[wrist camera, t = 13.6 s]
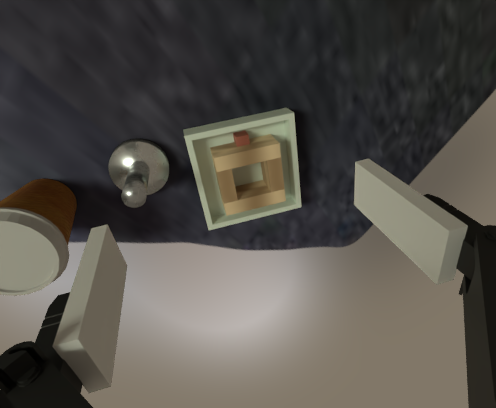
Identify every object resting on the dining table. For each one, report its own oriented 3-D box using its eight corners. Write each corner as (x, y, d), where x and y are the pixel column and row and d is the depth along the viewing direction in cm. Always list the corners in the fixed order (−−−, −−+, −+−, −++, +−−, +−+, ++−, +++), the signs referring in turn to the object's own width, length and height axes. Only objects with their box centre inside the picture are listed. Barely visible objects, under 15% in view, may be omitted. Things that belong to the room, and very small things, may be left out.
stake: (101, 145, 38) (84, 174, 30) (160, 133, 39) (158, 157, 31) (122, 196, 42) (111, 233, 34) (175, 183, 42) (176, 217, 35)
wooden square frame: (222, 201, 45) (226, 215, 41) (207, 138, 40) (211, 148, 37) (276, 188, 45) (285, 201, 42) (269, 125, 41) (278, 133, 37)
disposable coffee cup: (82, 240, 43) (56, 305, 33) (0, 224, 40) (-59, 291, 30) (98, 178, 40) (73, 229, 30) (9, 155, 37) (-54, 203, 26)
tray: (183, 129, 39) (184, 136, 37) (286, 107, 41) (294, 112, 39) (206, 219, 46) (208, 230, 44) (294, 198, 48) (301, 207, 45)
